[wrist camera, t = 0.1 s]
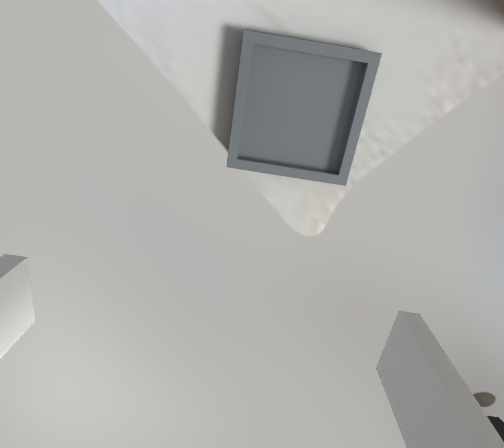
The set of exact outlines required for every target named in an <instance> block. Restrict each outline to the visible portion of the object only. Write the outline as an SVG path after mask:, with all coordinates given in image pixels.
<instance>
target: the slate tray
mask: <svg viewBox="0 0 504 448" xmlns="http://www.w3.org/2000/svg"><path fill="white" fill-rule="evenodd" d="M381 54H382V53H377V52H372V51H366V50H360V49H354V48H348V47H342V46H337V45H331V44H325V43H319V42H313V41H307V40H301V39H296V38H290V37H284V36H278V35H272V34H266V33H261V32H255V31H249V30H244V32H243V40H242V48H241V56H240V64H239V72H238V80H237V88H236V96H235V104H234V112H233V120H232V128H231V135H230V143H229V151H228V159H227V167H229V168H236V169H242V170H249V171H255V172H261V173H268V174H274V175H281V176H287V177H293V178H300V179H306V180H312V181H319V182H325V183H332V184H338V185H344V186H346V183H347V179H348V175H349V172H350V168H351V164H352V161H353V157H354V153H355V150H356V146H357V142H358V139H359V135H360V131H361V128H362V124H363V120H364V117H365V113H366V109H367V106H368V102H369V98H370V95H371V91H372V87H373V84H374V80H375V76H376V73H377V69H378V65H379V62H380V58H381Z"/></svg>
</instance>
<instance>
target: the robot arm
mask: <svg viewBox="0 0 504 448" xmlns="http://www.w3.org/2000/svg"><path fill="white" fill-rule="evenodd" d="M34 322H35V315H34V306H33V298H32V290H31V282H30V274H29V266H28V258H27V257H23V256H16V255H8V254H4V255H3V256H1V257H0V358H2V356H3V355H4V354H5V353H6V352H7V351H8V350H9V349H10V348H11V347H12V346H13V344H14V343H15V342H16V341H17V340H18V339H19V338H20V337H21V336H22V335H23V333H24V332H25V331H26V330H27V329H28V328H29V327H30V326H31V325H32V324H33V323H34ZM376 369H377V371H378V373H379V377H380V379H381V382H382V384H383V387H384V389H385V392H386V395H387V397H388V400H389V402H390V405H391V408H392V410H393V413H394V415H395V418H396V420H397V423H398V426H399V428H400V431H401V433H402V436H403V438H404V441H405V444H406V446H407V448H504V422H503V421H502V420H501V419H500V418H498V417H492V416H486V414H485V413H484V411H483V410H482V408H481V407H480V405H479V404H478V402H477V400H476V399H475V397H474V396H473V394H472V393H471V392H470V390H469V388H468V387H467V385H466V384H465V382H464V381H463V379H462V378H461V376H460V375H459V373H458V372H457V370H456V369H455V367H454V365H453V364H452V362H451V361H450V359H449V358H448V357H447V355H446V353H445V352H444V350H443V349H442V347H441V346H440V344H439V343H438V341H437V340H436V338H435V337H434V335H433V334H432V332H431V330H430V329H429V327H428V326H427V324H426V323H425V321H424V320H423V318H422V317H421V315H420V314H417V313H409V312H403V311H399V312H398V315H397V317H396V319H395V322H394V324H393V327H392V330H391V332H390V334H389V337H388V340H387V342H386V345H385V347H384V350H383V352H382V355H381V357H380V360H379V362H378V365H377V367H376Z"/></svg>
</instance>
